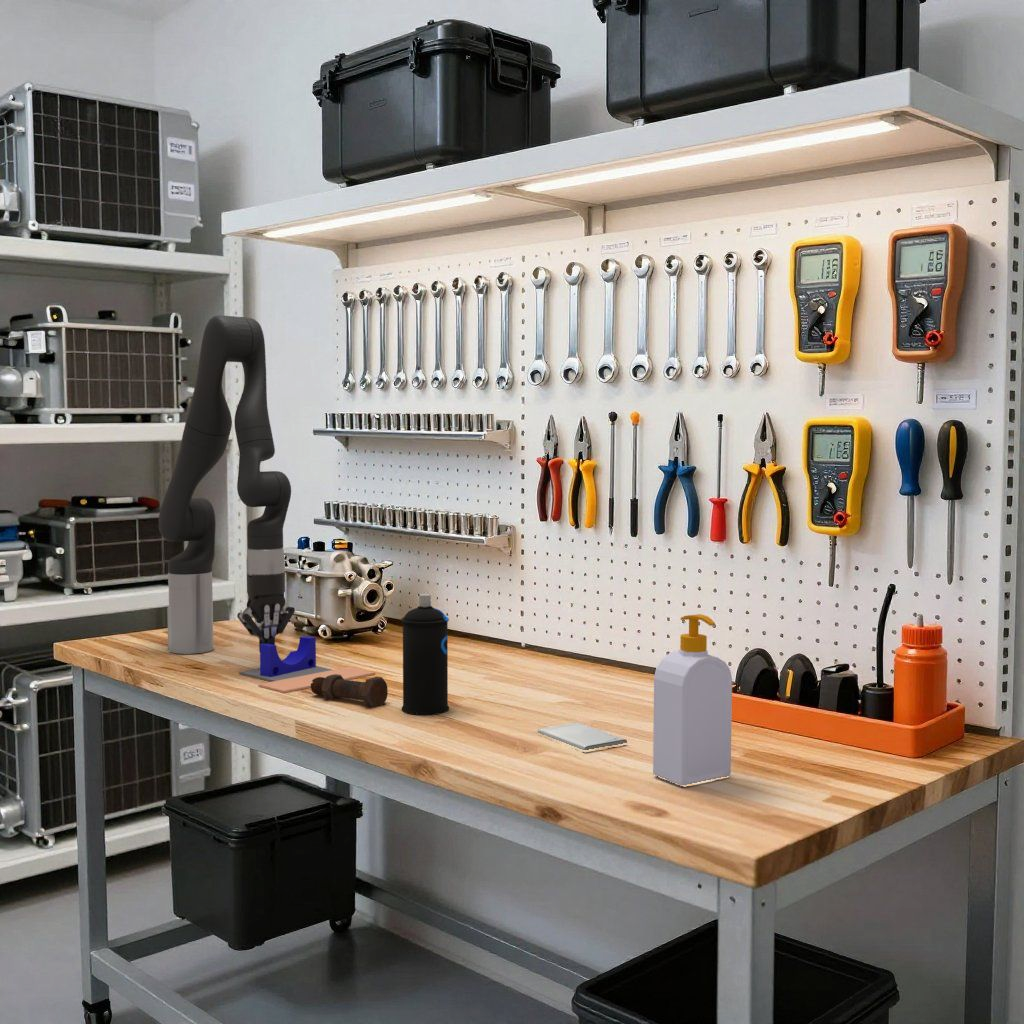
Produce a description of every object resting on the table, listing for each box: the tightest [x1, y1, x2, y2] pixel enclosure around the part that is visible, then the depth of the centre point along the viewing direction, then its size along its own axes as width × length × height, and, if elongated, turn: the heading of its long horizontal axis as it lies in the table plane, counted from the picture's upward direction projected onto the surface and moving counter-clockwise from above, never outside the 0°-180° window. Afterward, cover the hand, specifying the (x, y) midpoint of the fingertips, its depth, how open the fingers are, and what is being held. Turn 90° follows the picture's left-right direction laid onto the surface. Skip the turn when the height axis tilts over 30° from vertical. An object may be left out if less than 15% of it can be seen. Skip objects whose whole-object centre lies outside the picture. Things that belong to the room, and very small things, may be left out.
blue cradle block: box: [259, 635, 317, 677], centre depth 228 cm, size 12×4×6 cm, turn 144°
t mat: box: [238, 665, 376, 694], centre depth 225 cm, size 20×22×1 cm
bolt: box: [310, 674, 389, 708], centre depth 205 cm, size 6×5×15 cm
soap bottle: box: [652, 613, 733, 785], centre depth 159 cm, size 9×7×23 cm
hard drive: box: [537, 721, 628, 750], centre depth 179 cm, size 2×8×12 cm
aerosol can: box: [400, 593, 450, 716], centre depth 198 cm, size 8×8×20 cm
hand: (267, 655), depth 232 cm, fingers closed
